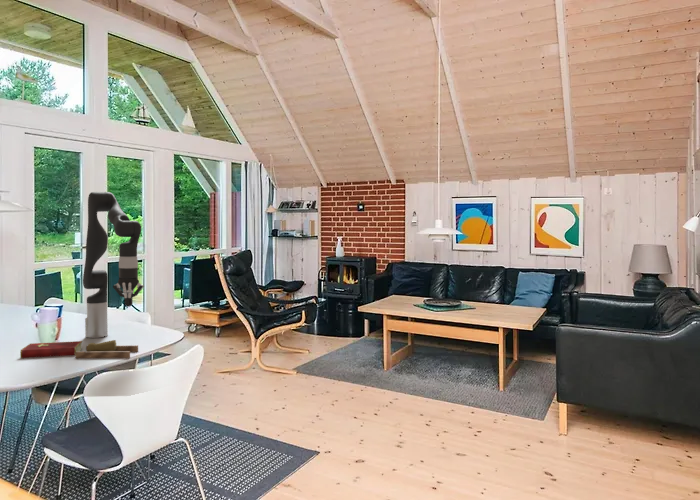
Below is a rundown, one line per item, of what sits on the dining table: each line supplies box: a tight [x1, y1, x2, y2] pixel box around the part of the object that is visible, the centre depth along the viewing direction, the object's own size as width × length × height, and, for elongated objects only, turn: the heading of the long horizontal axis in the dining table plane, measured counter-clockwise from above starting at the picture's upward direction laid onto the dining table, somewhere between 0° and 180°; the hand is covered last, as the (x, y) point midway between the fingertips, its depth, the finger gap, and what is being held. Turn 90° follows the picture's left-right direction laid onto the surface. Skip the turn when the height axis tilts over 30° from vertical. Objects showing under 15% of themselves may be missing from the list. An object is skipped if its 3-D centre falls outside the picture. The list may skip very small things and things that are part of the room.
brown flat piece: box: [75, 344, 139, 359], centre depth 220 cm, size 22×11×2 cm, turn 94°
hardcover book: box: [19, 340, 83, 359], centre depth 221 cm, size 12×21×4 cm, turn 105°
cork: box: [86, 339, 117, 351], centre depth 220 cm, size 6×6×11 cm
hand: (128, 306), depth 220 cm, fingers closed
